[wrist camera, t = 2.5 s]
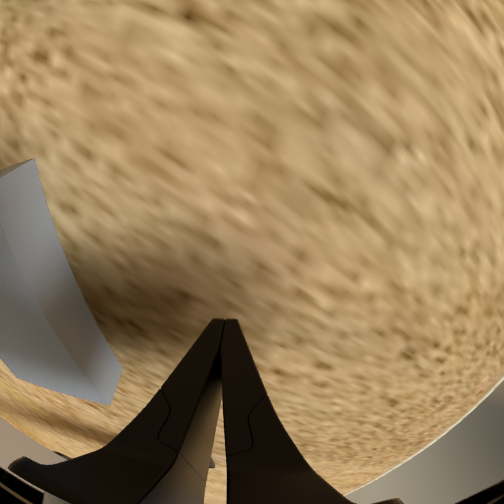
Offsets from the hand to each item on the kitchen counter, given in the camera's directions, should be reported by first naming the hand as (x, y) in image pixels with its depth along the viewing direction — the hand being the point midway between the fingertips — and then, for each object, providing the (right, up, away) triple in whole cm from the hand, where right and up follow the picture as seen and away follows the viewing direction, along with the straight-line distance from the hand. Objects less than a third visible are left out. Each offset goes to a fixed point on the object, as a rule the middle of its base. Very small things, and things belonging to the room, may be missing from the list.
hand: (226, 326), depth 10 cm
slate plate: (-11, +1, +2) cm, 11 cm away
